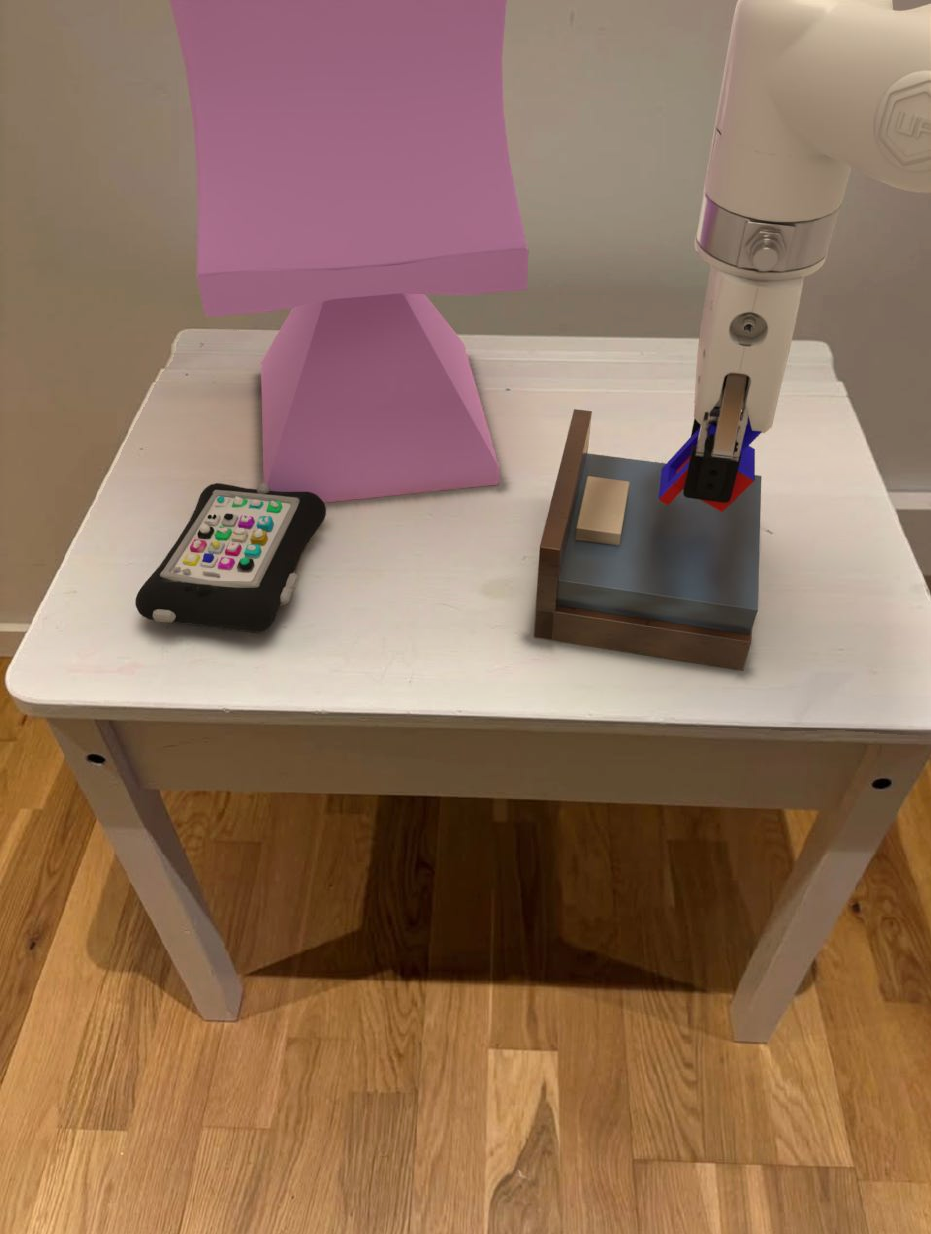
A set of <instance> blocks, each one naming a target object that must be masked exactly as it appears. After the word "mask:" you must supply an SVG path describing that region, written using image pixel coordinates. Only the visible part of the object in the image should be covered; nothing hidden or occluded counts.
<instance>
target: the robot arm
mask: <svg viewBox="0 0 931 1234" xmlns="http://www.w3.org/2000/svg"><path fill="white" fill-rule="evenodd" d="M852 169H853V170H856V171H857V172H859V173H861V174H863V175H866V176H867V177H869V178H871V179H873V180H876V181H877V182H880V183H883V184H886V185H888V186H890V187H892V188H896V189H899V190H903V191H906V192H911V193H919V194H931V3H928V4H924V5H920V6H918V7H915V8H911V9H905V10H896V9H894V3H893V0H737V2H736V5H735V9H734V14H733V17H732V22H731V29H730V33H729V39H728V46H727V52H726V57H725V62H724V69H723V73H722V80H721V86H720V92H719V97H718V103H717V109H716V114H715V121H714V125H713V133H712V138H711V143H710V148H709V156H708V160H707V167H706V172H705V177H704V182H703V189H702V196H701V201H700V207H699V213H698V218H697V225H696V229H695V230H696V231H695V235H694V239H693V247H694V250H695V253H696V254H697V255H698V257H699V258H700V259H701V260H702V261H703V262H704V263H706V264H707V265H709V266H710V269H709V275H708V280H707V285H706V291H705V297H704V304H703V308H702V314H701V315H702V316H701V321H700V328H699V336H698V345H697V354H696V355H697V356H696V368H695V370H696V371H695V384H694V385H695V386H694V405H693V406H694V409H693V418H694V419H693V422H692V429H691V434H690V437H691V436H692V435H693V434H694V433H695V432H696V431H697V430H698V429H699V428H700V432H699V437H698V442H697V446H692V451H691V456H690V461H689V466H688V470H687V475H686V480H685V485H684V492H683V494H684V496H685V497H687V498H692V499H700V500H707V501H714V502H722V503H727V502H729V501H730V499H731V496H732V492H733V488H734V484H735V480H736V476H737V472H738V468H739V464H740V460H741V453H742V452H740V451H741V446H742V442H743V438H744V433H745V429H746V425H747V422H748V421H747V420H748V416H749V420H750V424H751V428H752V431H760V432H761V434H765V433H767V432H768V431H770V430H771V429H772V428H773V424H774V420H775V415H776V410H777V406H778V402H779V397H780V393H781V389H782V385H783V381H784V376H785V372H786V367H787V364H788V359H789V354H790V350H791V346H792V342H793V337H794V334H795V328H796V323H797V319H798V314H799V309H800V303H801V298H802V292H803V286H804V279H805V277H808V276H810V275H812V274H815V273H816V272H817V271H819V270H820V269H821V268H822V267H823V266H824V265H825V263H826V261H827V257H828V253H829V250H830V245H831V242H832V239H833V235H834V232H835V227H836V224H837V220H838V216H839V213H840V211H841V206H842V202H843V201H844V200H843V199H844V197H845V193H846V189H847V185H848V183H849V179H850V175H851V171H852ZM710 424H713V425H714V426H716V432H715V435H714V434H710V435H709V436H708V433H709V428H710ZM700 426H701V427H700Z"/></svg>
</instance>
